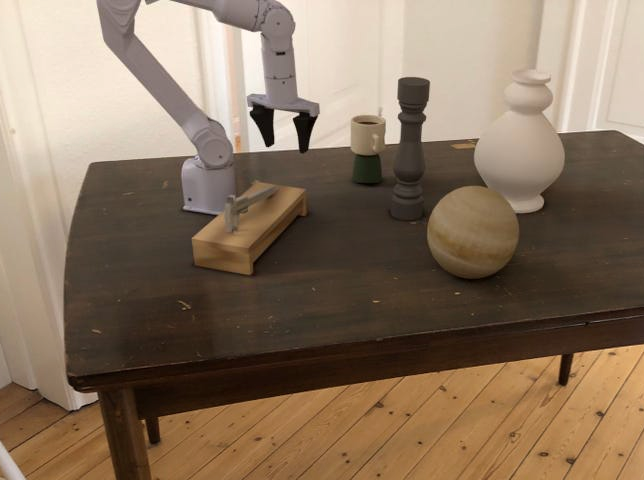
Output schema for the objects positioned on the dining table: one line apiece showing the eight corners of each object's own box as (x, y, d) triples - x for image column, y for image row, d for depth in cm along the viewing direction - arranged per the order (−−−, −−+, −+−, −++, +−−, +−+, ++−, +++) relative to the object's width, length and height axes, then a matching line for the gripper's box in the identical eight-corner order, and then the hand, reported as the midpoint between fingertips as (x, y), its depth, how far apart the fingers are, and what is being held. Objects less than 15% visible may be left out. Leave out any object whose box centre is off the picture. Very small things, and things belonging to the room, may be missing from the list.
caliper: (232, 235, 122) (228, 200, 118) (226, 234, 122) (222, 199, 118) (278, 190, 138) (277, 158, 135) (273, 189, 138) (271, 157, 135)
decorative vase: (458, 207, 148) (470, 78, 133) (484, 178, 161) (498, 57, 147) (545, 225, 143) (568, 93, 128) (564, 193, 156) (587, 70, 142)
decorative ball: (415, 255, 130) (420, 173, 121) (495, 250, 133) (506, 170, 124) (437, 298, 118) (444, 211, 109) (525, 292, 121) (539, 206, 113)
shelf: (194, 265, 123) (191, 238, 120) (258, 206, 144) (256, 181, 141) (250, 275, 121) (248, 247, 119) (306, 213, 142) (306, 189, 139)
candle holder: (389, 206, 147) (395, 76, 132) (420, 207, 147) (429, 77, 133) (391, 220, 142) (397, 85, 127) (424, 220, 142) (433, 86, 128)
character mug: (392, 188, 154) (395, 126, 147) (360, 192, 152) (361, 129, 144) (372, 170, 162) (374, 110, 155) (342, 174, 160) (342, 113, 152)
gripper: (326, 73, 133) (330, 147, 141) (258, 65, 138) (266, 136, 146) (305, 84, 128) (311, 159, 136) (236, 74, 133) (246, 148, 141)
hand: (287, 148), depth 141 cm, fingers open, 7 cm apart
